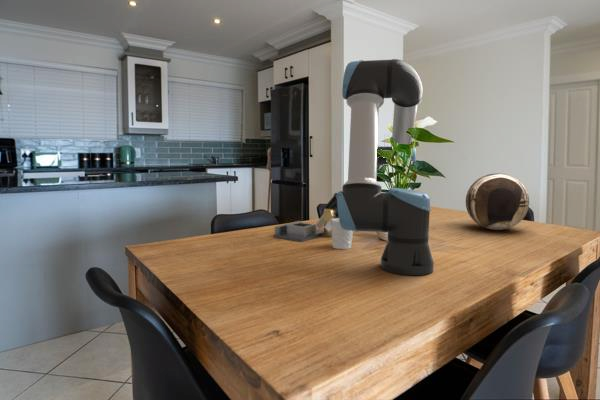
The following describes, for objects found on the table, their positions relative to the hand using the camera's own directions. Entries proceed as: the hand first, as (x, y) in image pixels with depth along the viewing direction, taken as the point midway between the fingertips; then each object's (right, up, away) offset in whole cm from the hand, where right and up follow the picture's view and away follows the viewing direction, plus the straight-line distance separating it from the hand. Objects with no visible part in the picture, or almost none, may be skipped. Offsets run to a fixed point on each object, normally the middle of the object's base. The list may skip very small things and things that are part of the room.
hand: (322, 227), depth 157 cm
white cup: (+6, -6, -16) cm, 19 cm away
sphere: (+78, -2, +17) cm, 80 cm away
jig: (-9, -3, +2) cm, 9 cm away
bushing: (+3, -3, +2) cm, 5 cm away
